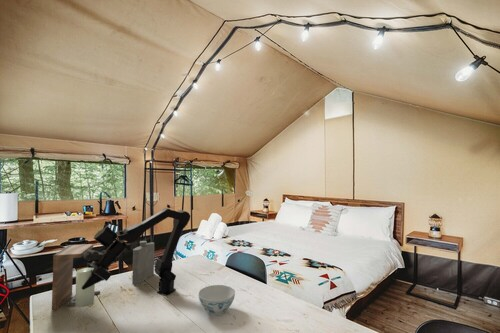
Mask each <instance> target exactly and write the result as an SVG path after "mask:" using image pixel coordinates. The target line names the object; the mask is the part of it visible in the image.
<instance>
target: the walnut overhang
mask: <svg viewBox="0 0 500 333" xmlns="http://www.w3.org/2000/svg"><path fill="white" fill-rule="evenodd" d="M93 248H94V243H89V244H86V243H85V244H70V245H68V246H66V247H65V248H63V249H61V250H59V251H58V252H57V253H56V252H55V253H54V254H53V256H52V257H53V258H52V259H53V261H52V263H53V264H52V288H51V292H52V293H51V311H52V310H53V311H57V310H58V309H57V308H59V307H61V306H62V304H63V303H64V302H65V301H66V300H67V299H68V298H70V296H71V295H72V294H73V278H74V277H73V272H74V259H76V258H77V259H78V258H82V257H83V256H84V254H85V252H86V250H87V249H90V250H93ZM96 295H97V296H98V295H101V290H94V296H96ZM75 300H76V294H74V296H73V297H72V298H71V299H70V300H69V302H67V307H75ZM56 309H57V310H56Z"/></svg>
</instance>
